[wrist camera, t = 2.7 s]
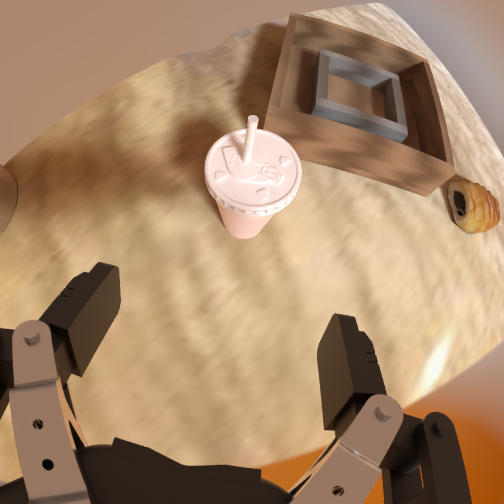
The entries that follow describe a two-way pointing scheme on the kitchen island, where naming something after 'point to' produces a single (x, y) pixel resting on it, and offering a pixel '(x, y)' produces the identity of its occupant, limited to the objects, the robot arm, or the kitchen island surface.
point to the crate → (359, 106)
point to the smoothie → (251, 177)
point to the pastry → (473, 206)
